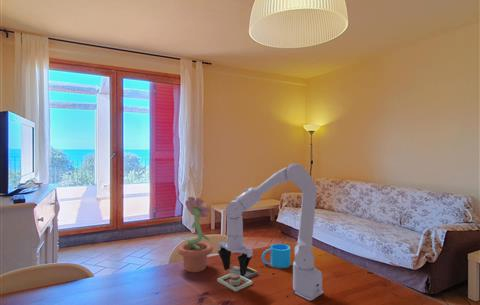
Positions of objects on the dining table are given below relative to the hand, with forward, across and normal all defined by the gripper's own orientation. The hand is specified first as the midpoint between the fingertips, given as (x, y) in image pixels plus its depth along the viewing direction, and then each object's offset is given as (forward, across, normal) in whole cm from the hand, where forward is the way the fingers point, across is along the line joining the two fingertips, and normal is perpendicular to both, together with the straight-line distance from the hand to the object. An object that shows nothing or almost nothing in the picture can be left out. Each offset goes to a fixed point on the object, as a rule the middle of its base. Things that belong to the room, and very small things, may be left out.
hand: (234, 272), depth 100 cm
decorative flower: (+5, +20, 0) cm, 21 cm away
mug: (+5, -2, -24) cm, 24 cm away
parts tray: (+5, 0, 0) cm, 5 cm away
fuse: (+4, 0, 0) cm, 4 cm away
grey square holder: (+5, +1, -8) cm, 9 cm away
